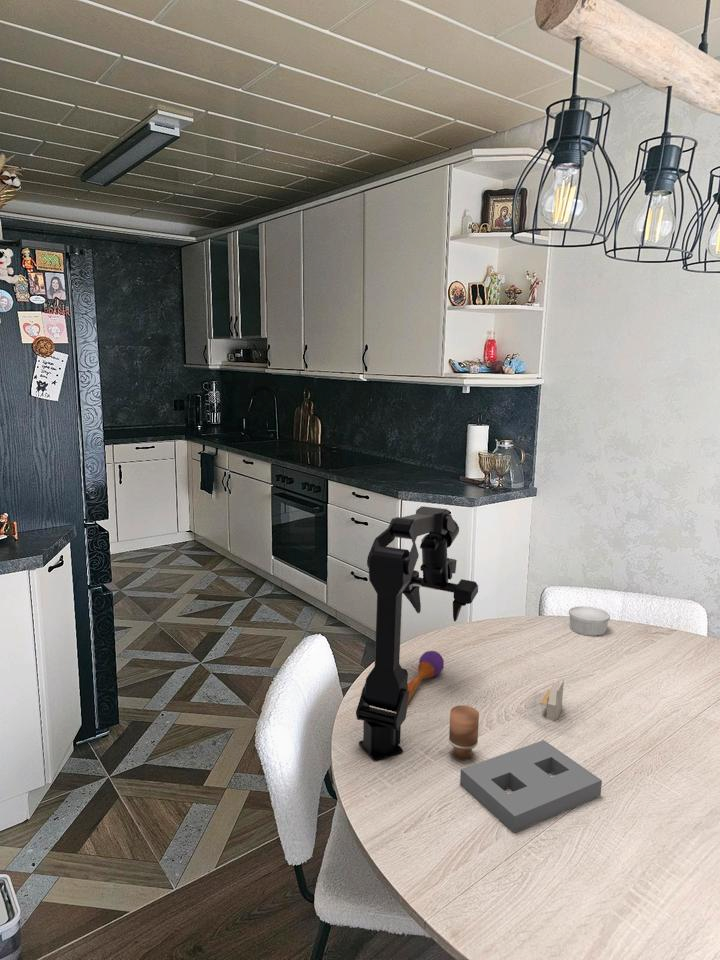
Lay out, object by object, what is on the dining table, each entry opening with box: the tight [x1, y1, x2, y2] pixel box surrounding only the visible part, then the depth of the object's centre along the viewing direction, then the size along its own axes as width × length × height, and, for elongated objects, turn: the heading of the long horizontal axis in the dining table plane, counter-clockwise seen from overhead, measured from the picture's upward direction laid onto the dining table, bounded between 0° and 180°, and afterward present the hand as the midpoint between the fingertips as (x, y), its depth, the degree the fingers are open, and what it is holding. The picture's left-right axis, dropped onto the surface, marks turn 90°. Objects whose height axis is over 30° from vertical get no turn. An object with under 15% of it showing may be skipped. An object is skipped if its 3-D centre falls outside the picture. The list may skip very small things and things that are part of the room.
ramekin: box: [568, 605, 611, 637], centre depth 188 cm, size 11×11×5 cm
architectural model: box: [540, 679, 565, 722], centre depth 142 cm, size 3×7×7 cm, turn 150°
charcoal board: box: [459, 739, 603, 834], centre depth 116 cm, size 20×14×3 cm
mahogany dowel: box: [448, 705, 480, 761], centre depth 126 cm, size 6×6×9 cm
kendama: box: [407, 650, 445, 703], centre depth 153 cm, size 6×6×20 cm
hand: (437, 616), depth 155 cm, fingers open, 9 cm apart
